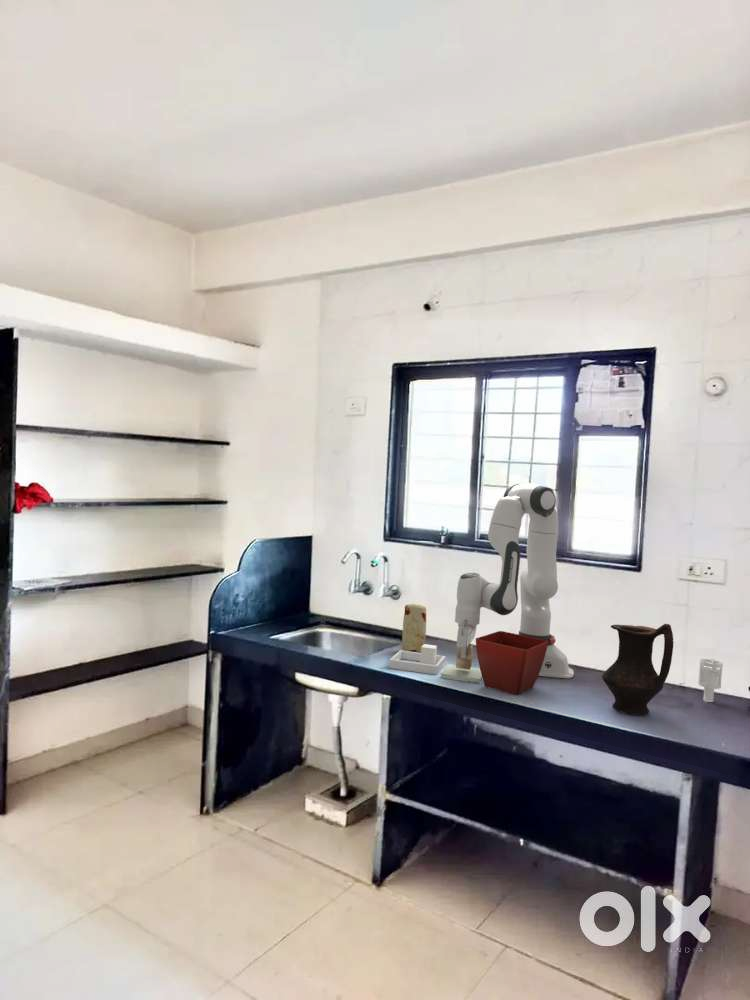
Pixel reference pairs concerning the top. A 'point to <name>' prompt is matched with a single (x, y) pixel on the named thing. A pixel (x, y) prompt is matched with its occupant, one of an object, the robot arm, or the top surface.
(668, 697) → the top surface
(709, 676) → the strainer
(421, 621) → the food model
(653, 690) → the jug
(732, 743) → the top surface
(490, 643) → the plant pot
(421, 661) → the plain white box
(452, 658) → the top surface
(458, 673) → the sage board
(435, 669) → the shallow white tray
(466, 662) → the labelled oak box
